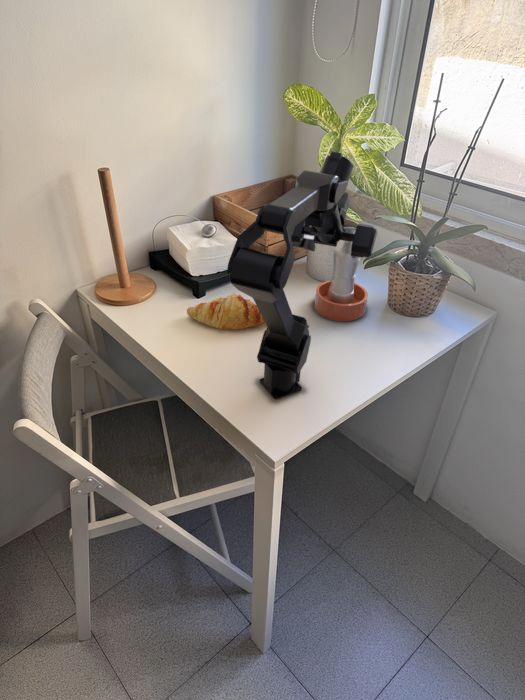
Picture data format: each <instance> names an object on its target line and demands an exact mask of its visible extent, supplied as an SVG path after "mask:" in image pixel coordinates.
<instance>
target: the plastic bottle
mask: <svg viewBox="0 0 525 700" xmlns="http://www.w3.org/2000/svg"><path fill="white" fill-rule="evenodd" d="M343 228H345V229H352V230H356V228H357V227H352V226H343ZM351 234H352V233H351ZM351 247H352V242H350V241H344V240H339V241H338V243H337V247H335V246H334V248H333V268H332V277H331V280H332V281H331V285H330V288H329V291H328V300H329V301H331V302H334V303H339V304H352V302H353V299H354V283H355V278H356V273H357V269H358V266H359V263H360V260H361V257H356V258H352V257H351Z"/></svg>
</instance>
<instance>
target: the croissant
mask: <svg viewBox="0 0 525 700" xmlns="http://www.w3.org/2000/svg"><path fill="white" fill-rule="evenodd" d="M186 314H187V316H189V317H190V318H192V319H194V320H196V321H197V322H199V323H200V324H204V325H206V326H208V327H212V328H216V329H219V330H242V329H246V328H250V327H251V328H252V327H257V326H261V325H266V323H265V321H264V319H263V317H262V315H261V313H260V311H259V309H258V307H257V305H256V303H255V302H253V301H251V299H248V298H247V299H246V298H244V296H242V295H241V294H238V293H232V294H230V295H227V297H219V298H215V299H212V300H210V301H207V302H201V303H198V304H196V305H194V306H189V307H188V308H187V309H186Z"/></svg>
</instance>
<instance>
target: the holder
mask: <svg viewBox="0 0 525 700" xmlns="http://www.w3.org/2000/svg"><path fill="white" fill-rule="evenodd" d="M331 281H332V279H329V280H326V281H325V280H324V281H323V282H321V283H319V284H318V285H317V286H316V289H315V296H314V309H315V311H316V312H317V313H318V314H319V315H320V316H322V317H323V318H326V319H328V320H331V321H334V322H335V321H337V322H352V321H355V320H358V319H360V318H362V317H363V316H364V314H365V312H366V307H367V302H368V297H369V294H368V291H367V290H366V288H365V287H363V286H362V285H361V284H359V283H356V282H354V299H353V302H352V304H339V303H334V302H331V301H329V300H328V291H329V288H330V285H331Z"/></svg>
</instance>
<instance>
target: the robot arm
mask: <svg viewBox="0 0 525 700" xmlns="http://www.w3.org/2000/svg"><path fill="white" fill-rule="evenodd" d="M353 171H354V163H352V161H351V160H350V159H348V158H347V157H345V156H343V152H338V151H331V153H330V155H327V156H326V157H325V159H324V161H323V164H322V167H321V169H320V172H318V171H312V170H307V169H305V170H303V171H302V172H301V173H300V174H299V175H298V176H296V178H295V181H294V183H293V186H292V187H293V188H292V189H290V190H289V191H287V192H286V193H284V194H283V195H281V196H280V197H278V198H276V199H275V200H273V201H272V202H270V203H267V204H265V203H264V204H262V205H261V206H260V208H259V210H258V213H257V216H256V219H255V220H254V222H252V223H251V224H250V225H249V226H248V227H247V228H246V229H244V230H243V232H241V233H240V234H239V235H238V237H237V238H236V241H235V244H234V246H233V249H232V252H231V254H230V257H229V259H228V263H227V268H226V269H227V275H228V279H229V281H230V283H231V285H232V286H233V287H234V288H235V289H236V290H238V291H239V292H241V293H243V294H245V295H247V296H248V297H251V298H252V299H253V301H254V304H255V305H257V307H258V309H259V311H260V313H261V315H262V317H263V319H264V321H265V325H266V329H265V330H264V331H263V335H262V338H261V342H260V345H259V349H258V353H257V354H256V355H257V356H256V359H257V362H258V363H260V364H263V365H264V369H263V371H264V372H263V377H262V378H259V384H261V386H262V387H263V388H264V389H265V390H266V392H267V393H268V394H269V395H270V396H271V398H272V399H274V400H280V399H282V398H286V397H287V396H290V395H293V394H296V393H298V392H301V391H302V390H303V387H302V386H301V384H300V381H301V380H300V379H301V370H302V369H303V367H304V366H305V364H306V363H307V360H308V355H309V350H310V346H311V341H312V336H311V335H310V331H309V327H310V325H308V321H307V319H306V317H304V316H300V315H297V314H293V312H292V310H291V307H290V304H289V301H288V299H287V296H286V293H285V290H284V288H285V287H286V285H287V283H288V280H289V277H290V275H291V272H292V270H293V267H294V263H295V261H296V256H295V255H296V254H295V251H294V247H296V248H299V249H303V250H307V251H310V252H315V251H316V244H317V245H323V246H330V247H334V248H335V247H337V243H338V242H339V241H340V240H344V241H350V242H352V247H351V257H352V258H356V257H360V258H369V257H371V256H372V254H373V252H374V251H373V250H374V247H375V243H376V239H377V236H378V229H377V227H376V225H371V224H364V223H358V224H357V225H356V227H355V228H356V230H352V229H345V228H344V227H346V223H347V212H348V210H349V206H350V203H349V202H350V199H349V197H350V195H349V193H348V192H346V190H347V188H348V185H349V181H350V179H351V176H352V173H353ZM265 232H268V233H273V234H277V235H278V234H279V235H281V236H282V238H283V240H284V242H285V245H286V249H285V253H284V256H283V255H278V254H276V253H275V254H274V253H270V252H266V251H261V250H257V249H253V248H250V247H251V246H252V245H253V244H254V243H256V241H257V240H259V239H260V238H261V237H262V236H263V235H264V234H265ZM351 233H352V234H351Z"/></svg>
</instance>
